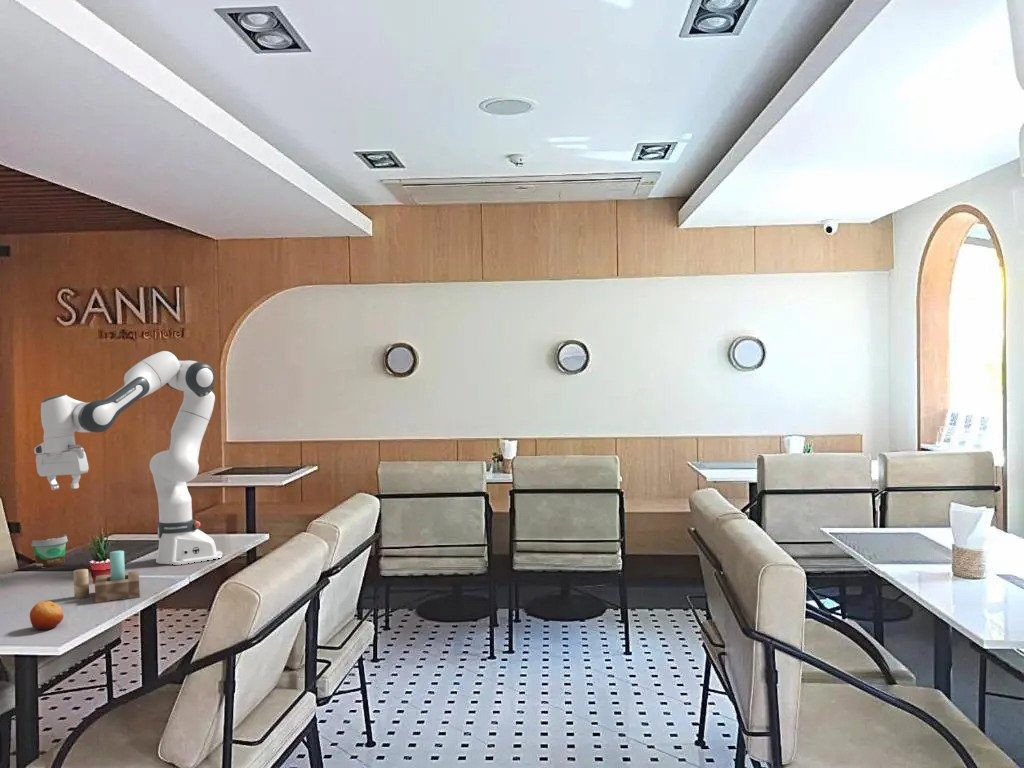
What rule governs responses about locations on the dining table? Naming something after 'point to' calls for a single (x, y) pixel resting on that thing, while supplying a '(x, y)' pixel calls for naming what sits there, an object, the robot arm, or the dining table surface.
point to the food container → (50, 551)
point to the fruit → (46, 615)
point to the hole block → (117, 587)
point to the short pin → (81, 583)
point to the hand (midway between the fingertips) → (65, 489)
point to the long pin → (117, 565)
